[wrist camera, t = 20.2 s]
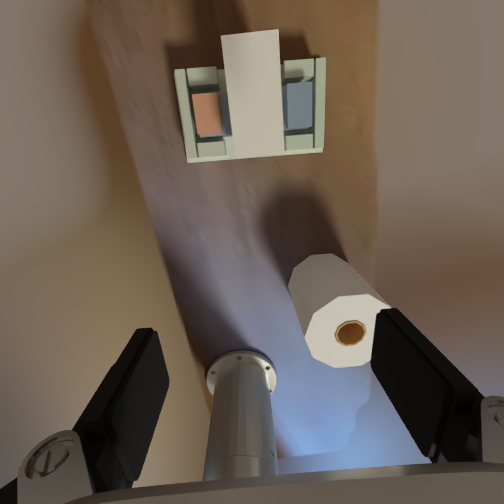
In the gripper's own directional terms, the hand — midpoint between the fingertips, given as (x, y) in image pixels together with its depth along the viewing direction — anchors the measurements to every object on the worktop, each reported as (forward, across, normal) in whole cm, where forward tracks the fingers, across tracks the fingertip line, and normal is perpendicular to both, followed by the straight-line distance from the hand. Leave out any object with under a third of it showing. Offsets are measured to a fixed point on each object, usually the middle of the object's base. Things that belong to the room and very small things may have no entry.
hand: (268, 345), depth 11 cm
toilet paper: (+26, -10, +12) cm, 31 cm away
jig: (+26, -1, -12) cm, 29 cm away
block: (+22, -1, -12) cm, 25 cm away
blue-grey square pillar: (+25, -1, -12) cm, 28 cm away
